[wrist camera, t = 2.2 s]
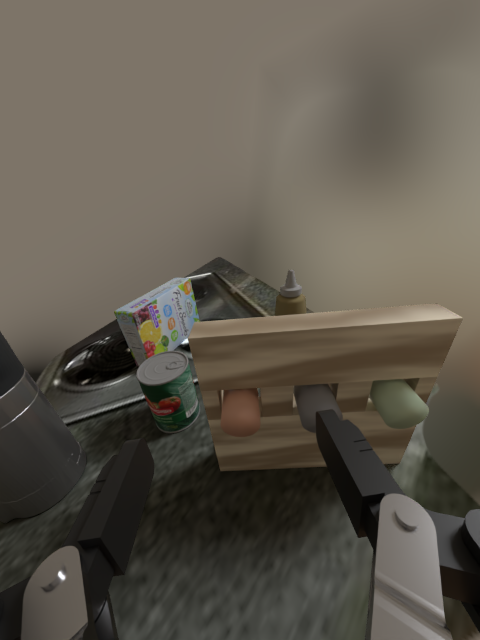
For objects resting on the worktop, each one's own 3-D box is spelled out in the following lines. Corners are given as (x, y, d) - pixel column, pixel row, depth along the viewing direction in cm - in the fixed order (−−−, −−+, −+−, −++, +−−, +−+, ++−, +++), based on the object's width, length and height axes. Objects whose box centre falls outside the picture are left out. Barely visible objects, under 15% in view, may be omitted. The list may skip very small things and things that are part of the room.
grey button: (340, 432, 23) (345, 404, 21) (300, 434, 23) (302, 407, 21) (327, 400, 26) (330, 375, 24) (292, 402, 27) (293, 377, 25)
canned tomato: (150, 437, 37) (128, 388, 31) (160, 399, 44) (143, 354, 38) (199, 429, 37) (185, 379, 32) (201, 393, 44) (190, 347, 39)
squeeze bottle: (267, 342, 57) (264, 273, 48) (284, 328, 62) (284, 263, 53) (296, 354, 52) (299, 279, 43) (312, 337, 57) (317, 267, 48)
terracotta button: (261, 436, 23) (259, 409, 21) (223, 438, 23) (217, 412, 22) (258, 404, 27) (257, 379, 25) (225, 406, 27) (221, 382, 25)
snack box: (186, 323, 70) (174, 276, 63) (201, 325, 68) (191, 277, 61) (135, 366, 53) (112, 310, 46) (153, 371, 51) (132, 312, 44)
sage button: (421, 428, 22) (434, 399, 21) (380, 430, 23) (389, 402, 21) (397, 396, 26) (406, 370, 24) (361, 398, 26) (368, 372, 24)
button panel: (399, 463, 30) (463, 317, 19) (220, 471, 31) (187, 338, 20) (363, 402, 39) (394, 280, 28) (225, 410, 40) (204, 296, 29)
